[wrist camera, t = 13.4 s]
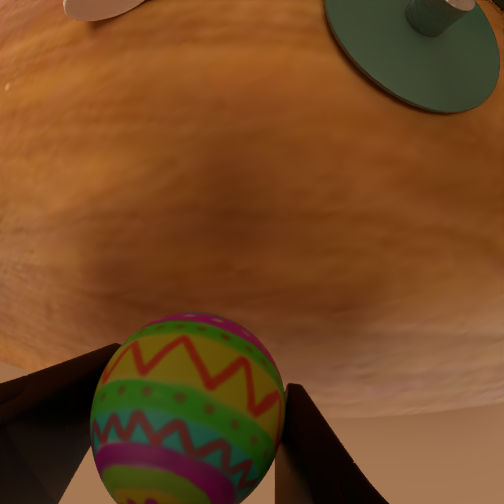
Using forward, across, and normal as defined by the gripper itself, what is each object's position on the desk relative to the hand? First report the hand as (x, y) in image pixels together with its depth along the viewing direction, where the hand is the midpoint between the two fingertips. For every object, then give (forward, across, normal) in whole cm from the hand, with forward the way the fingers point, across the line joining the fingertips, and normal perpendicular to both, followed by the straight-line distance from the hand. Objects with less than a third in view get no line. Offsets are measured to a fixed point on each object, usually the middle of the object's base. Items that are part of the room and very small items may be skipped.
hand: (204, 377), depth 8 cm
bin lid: (+8, -8, -16) cm, 20 cm away
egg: (+1, 0, 0) cm, 1 cm away
